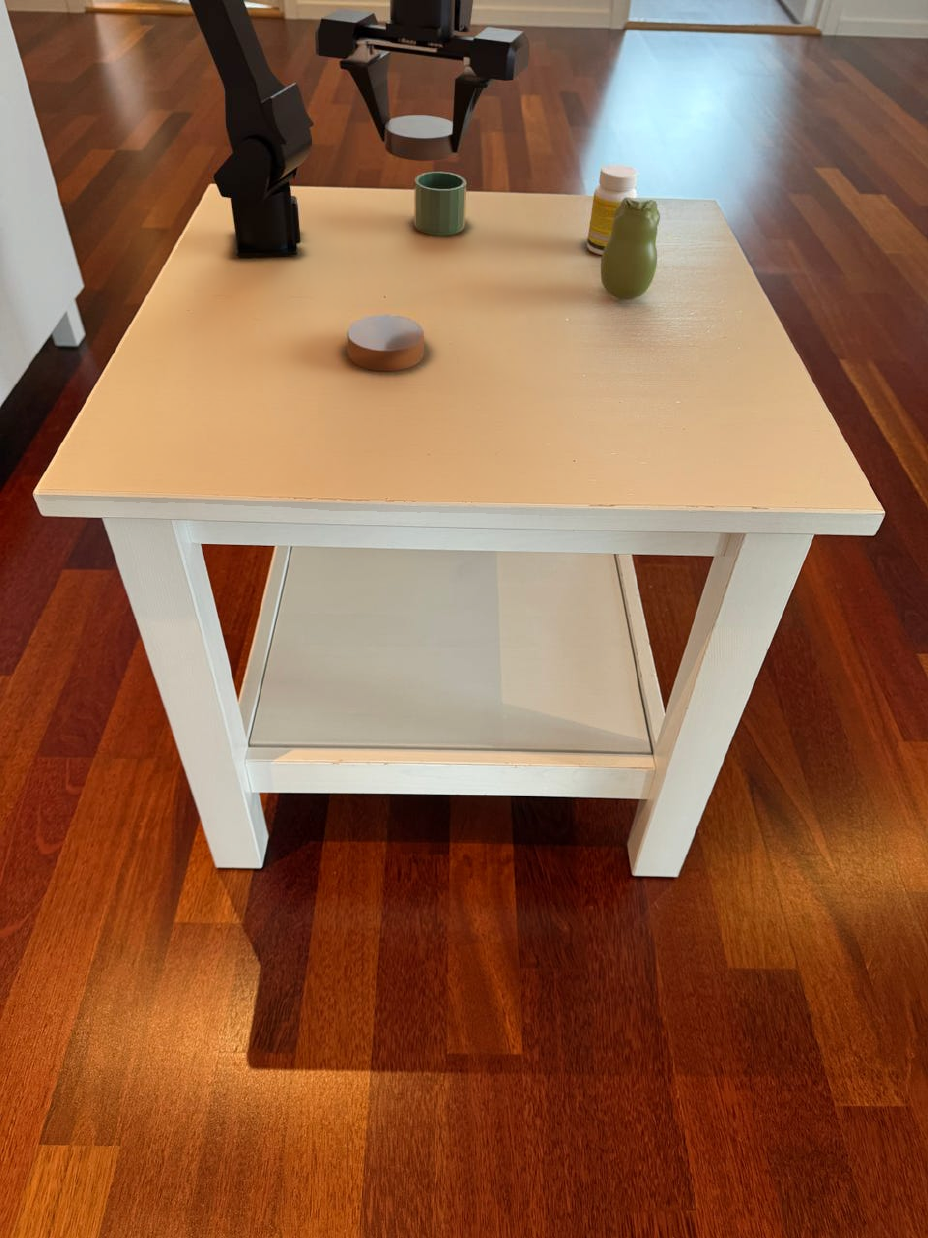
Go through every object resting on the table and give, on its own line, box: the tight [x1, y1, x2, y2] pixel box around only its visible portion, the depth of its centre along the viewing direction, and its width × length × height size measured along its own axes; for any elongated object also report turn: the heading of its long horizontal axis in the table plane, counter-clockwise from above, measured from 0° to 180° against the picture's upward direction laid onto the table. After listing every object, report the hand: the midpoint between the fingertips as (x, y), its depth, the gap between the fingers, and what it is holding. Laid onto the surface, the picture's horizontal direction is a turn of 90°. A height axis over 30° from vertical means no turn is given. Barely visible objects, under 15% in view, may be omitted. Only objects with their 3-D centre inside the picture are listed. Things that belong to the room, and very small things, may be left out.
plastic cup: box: [413, 171, 468, 237], centre depth 105 cm, size 6×6×5 cm
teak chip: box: [346, 314, 425, 372], centre depth 84 cm, size 7×7×2 cm
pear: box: [600, 197, 661, 301], centre depth 92 cm, size 6×5×10 cm
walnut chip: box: [384, 114, 456, 162], centre depth 88 cm, size 7×7×2 cm
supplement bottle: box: [586, 164, 639, 256], centre depth 101 cm, size 5×5×8 cm
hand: (421, 146), depth 89 cm, fingers closed on walnut chip, 7 cm apart
